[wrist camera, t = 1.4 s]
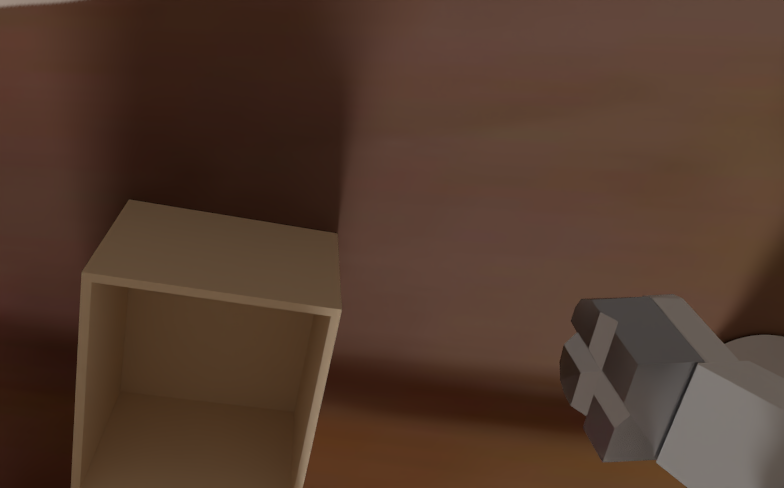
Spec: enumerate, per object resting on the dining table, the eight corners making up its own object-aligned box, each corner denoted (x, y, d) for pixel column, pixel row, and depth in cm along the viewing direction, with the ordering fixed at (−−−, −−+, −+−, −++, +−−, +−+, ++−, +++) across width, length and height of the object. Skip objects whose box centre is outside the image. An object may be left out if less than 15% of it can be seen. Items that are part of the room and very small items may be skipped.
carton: (129, 199, 54) (81, 272, 43) (337, 233, 57) (342, 309, 46) (114, 392, 61) (70, 495, 50) (300, 413, 64) (296, 516, 53)
